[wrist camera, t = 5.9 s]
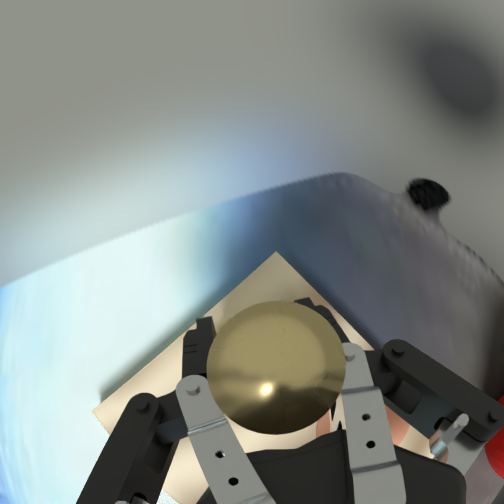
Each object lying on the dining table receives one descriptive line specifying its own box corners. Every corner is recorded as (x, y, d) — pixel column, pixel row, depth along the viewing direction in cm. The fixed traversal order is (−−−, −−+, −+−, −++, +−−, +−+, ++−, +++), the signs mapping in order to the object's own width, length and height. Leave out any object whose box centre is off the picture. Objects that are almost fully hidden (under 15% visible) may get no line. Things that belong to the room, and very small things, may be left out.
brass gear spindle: (190, 355, 16) (130, 357, 7) (259, 294, 18) (279, 227, 9) (256, 422, 15) (272, 496, 6) (323, 359, 17) (409, 359, 7)
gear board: (100, 408, 16) (64, 418, 11) (273, 258, 21) (282, 229, 16) (293, 561, 10) (303, 592, 6) (441, 429, 15) (478, 437, 11)
